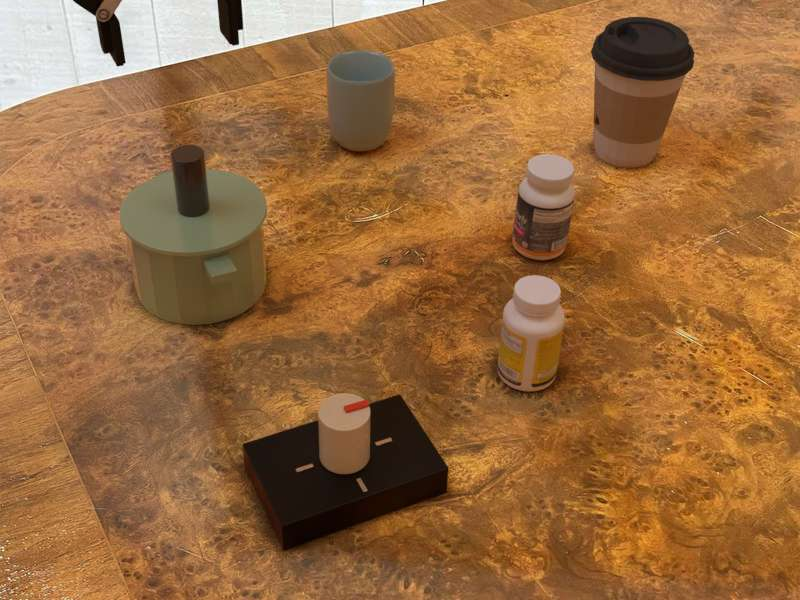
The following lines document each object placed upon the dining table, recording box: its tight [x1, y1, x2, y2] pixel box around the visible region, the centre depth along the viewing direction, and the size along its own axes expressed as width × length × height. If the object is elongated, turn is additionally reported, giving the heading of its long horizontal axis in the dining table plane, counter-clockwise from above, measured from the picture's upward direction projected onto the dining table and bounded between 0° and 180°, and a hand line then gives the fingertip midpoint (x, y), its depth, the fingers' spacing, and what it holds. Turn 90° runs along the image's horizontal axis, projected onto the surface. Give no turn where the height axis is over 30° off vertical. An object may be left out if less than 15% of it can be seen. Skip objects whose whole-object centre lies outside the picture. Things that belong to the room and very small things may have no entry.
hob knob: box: [317, 392, 371, 474], centre depth 83 cm, size 4×4×5 cm
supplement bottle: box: [496, 274, 566, 392], centre depth 94 cm, size 5×5×10 cm
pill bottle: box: [511, 153, 576, 261], centre depth 109 cm, size 6×6×10 cm
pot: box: [125, 169, 267, 326], centre depth 103 cm, size 13×18×8 cm
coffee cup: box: [590, 16, 695, 169], centre depth 122 cm, size 11×11×15 cm
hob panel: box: [241, 393, 449, 551], centre depth 86 cm, size 14×9×3 cm, turn 115°
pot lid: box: [118, 144, 268, 256], centre depth 98 cm, size 14×14×7 cm
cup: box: [325, 50, 396, 152], centre depth 123 cm, size 8×8×10 cm
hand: (174, 48), depth 89 cm, fingers open, 9 cm apart
